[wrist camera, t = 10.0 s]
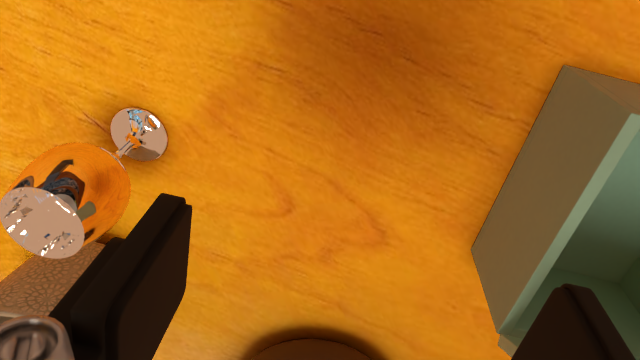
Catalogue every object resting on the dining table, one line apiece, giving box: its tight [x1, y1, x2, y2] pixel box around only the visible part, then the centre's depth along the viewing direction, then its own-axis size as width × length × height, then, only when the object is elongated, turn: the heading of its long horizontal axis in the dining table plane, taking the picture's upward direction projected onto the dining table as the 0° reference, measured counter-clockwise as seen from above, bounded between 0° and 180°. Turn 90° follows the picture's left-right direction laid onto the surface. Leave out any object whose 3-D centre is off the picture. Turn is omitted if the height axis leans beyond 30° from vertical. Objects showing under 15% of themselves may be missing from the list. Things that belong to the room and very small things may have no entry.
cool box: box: [471, 65, 640, 360], centre depth 30 cm, size 16×13×9 cm
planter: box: [0, 242, 106, 324], centre depth 38 cm, size 12×12×11 cm
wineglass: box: [0, 107, 168, 259], centre depth 30 cm, size 6×6×12 cm
